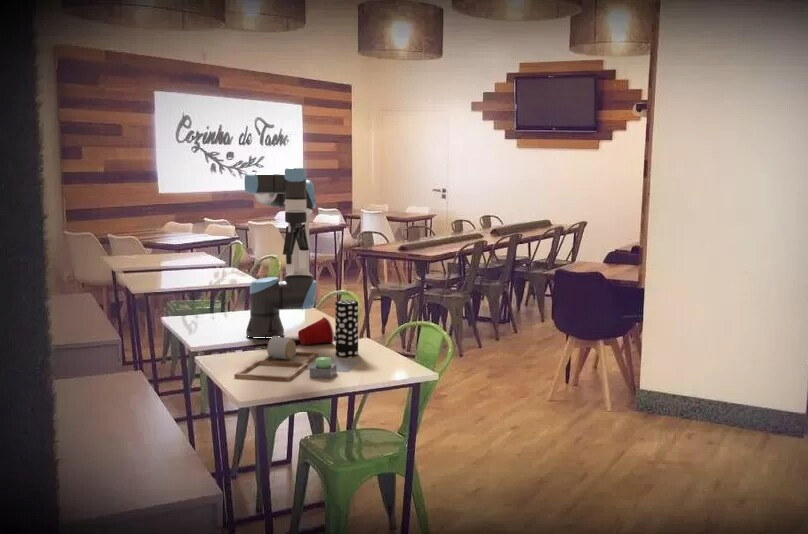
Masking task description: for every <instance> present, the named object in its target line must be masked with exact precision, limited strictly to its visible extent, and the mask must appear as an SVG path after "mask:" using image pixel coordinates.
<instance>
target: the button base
mask: <svg viewBox="0 0 808 534" xmlns="http://www.w3.org/2000/svg"><path fill="white" fill-rule="evenodd" d="M336 375H337V365H336V364H331V367H328V368H317V367H316V364H314V365H313V366H312V367H311V368H310V370H309V378H310V379H322V380H323V379H324V380H331V379H332V378H333V377H335V376H336Z"/></svg>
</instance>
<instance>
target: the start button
mask: <svg viewBox="0 0 808 534" xmlns="http://www.w3.org/2000/svg"><path fill="white" fill-rule="evenodd" d="M331 359H332V358H331V357H328V356H320V357H319V356H318V357H316V358H315V360H316V367H317V368H328V367H331Z"/></svg>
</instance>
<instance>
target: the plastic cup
mask: <svg viewBox="0 0 808 534" xmlns="http://www.w3.org/2000/svg"><path fill="white" fill-rule="evenodd" d="M297 334H298V341H299V343H300V344H301V345H302V346H307V345H317V344H326V343H327V344H333V343H334V342H335V334H334V329H333V325H332V323H331V321H330V320H329V318H328V317H327V316H323V317H322V318H321V319H319V320H317V321H316V322H314V323H312V324H309V325H307V326H306V327H303V328H302V329H301V328H300V330H299V331H298V332H297Z"/></svg>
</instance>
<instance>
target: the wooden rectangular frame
mask: <svg viewBox="0 0 808 534" xmlns="http://www.w3.org/2000/svg"><path fill="white" fill-rule="evenodd" d="M294 356H297V357H307V358H306V359H304V360H303V361H302V362H293V361H279V360H277V361H275V360H272V359H273V357H270V356H269V355H268V354H267V355H265V357H262V359H260V360H259V359H258V360H257V359H256V360H255V361H253V362H251V363H249V364H248V365H247V366H245V367H244V368H241V369H240V370H238V371H237V372H235V373H234V379H244V380H245V379H247V380H258V381H259V380H263V381H276V382H291V381H293V379H295V378H296V377H297V376H299V375H300V374H301V373H302V372H303V371H305V370H304V369H305V368H307V367H308V365H309V364H311V363H312V362H313V361H314V360H316V358H318V357H319V352H311V351H310V352H306V351H296V355H294ZM294 356H293V357H294ZM257 366H275V367H291V368H292V367H293V368H296V369H295V370H293V372H291V373H290V374H289V375H269V374H257V373H256V374H254V373H248V372H250V371H252V370H253V369H254V368H256V367H257Z"/></svg>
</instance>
